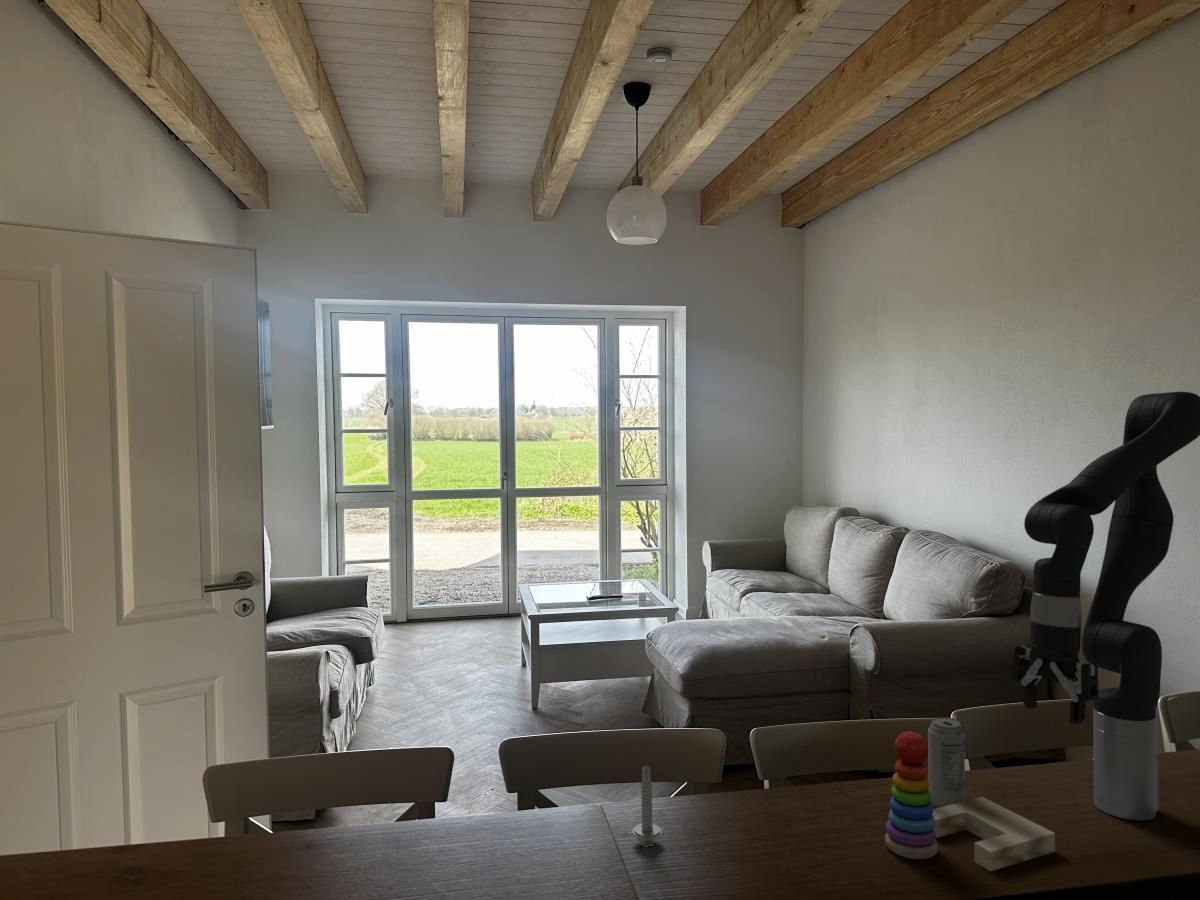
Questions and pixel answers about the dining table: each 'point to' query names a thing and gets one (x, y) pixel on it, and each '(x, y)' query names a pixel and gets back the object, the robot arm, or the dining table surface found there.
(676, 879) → the dining table surface
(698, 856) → the dining table surface
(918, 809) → the stacking toy
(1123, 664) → the robot arm
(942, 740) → the energy drink can
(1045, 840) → the notched board
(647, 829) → the screw
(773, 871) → the dining table surface
